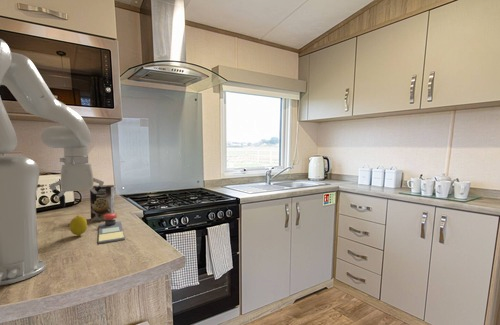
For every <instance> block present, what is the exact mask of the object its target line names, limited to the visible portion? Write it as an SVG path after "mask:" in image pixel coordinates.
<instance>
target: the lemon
mask: <svg viewBox="0 0 500 325" xmlns="http://www.w3.org/2000/svg"><path fill="white" fill-rule="evenodd" d="M69 229H70V232H71V233H72V234H74V235H77V237H80V236H81V235H82V234H84V233H85V232H86V231H87V229H88V221H87V219H86V218H85V217H84V216H82V215H77V216H75V217H73V218H72V219H71V220H70V224H69Z"/></svg>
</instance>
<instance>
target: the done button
mask: <svg viewBox="0 0 500 325" xmlns="http://www.w3.org/2000/svg"><path fill="white" fill-rule="evenodd" d="M117 216H118V215H117V213H116V212H115V213H110V214H105V215H104V219H105V220H104V221H106V220H109V219H115V220H116V218H117Z"/></svg>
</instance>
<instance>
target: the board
mask: <svg viewBox="0 0 500 325" xmlns="http://www.w3.org/2000/svg"><path fill="white" fill-rule="evenodd" d="M125 240H126V239H125V233H124V229H123V226H122V221H121V220H120V221H119V220H118V221H116V218H115V219H110V220H104V223H99V224H98V241H97V244H98V245H101V244H107V243H108V244H109V243H112V242H113V243H115V242H120V241H125Z"/></svg>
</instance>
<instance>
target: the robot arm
mask: <svg viewBox="0 0 500 325" xmlns="http://www.w3.org/2000/svg"><path fill="white" fill-rule="evenodd" d="M0 86H5V87H7V89H8V90H9V91H10V93H11V94H12V95H13V97H14V99H16V101H17V102H18V104H19V105H20V106H21V107H22V108H23V110H24V111H25V112H26V113H29V114H31V115H34V116H36V117H38V118H42V119H45V120H49V121H52V122H55V123H57V124H61V126H56V125H55V126H48V127H45V128H43V130H42V132H40V140H41V142H42V143H43V144H44V145H45V146H47V147H49V148H52V149H63V157H59V162H60V163H61V162H62V163H64V164H62V165H61V170H60V180H57V181H55V182H54V183H51V184H49V185H48V186H49V188H50V190H51V192H52V193H53V194H54V195H56V196H58V199H59V205H60V206H61V208H64V207H66V196H65V193H66V192H78V191H79V192H80V191H89V192H90V191H92V204H95V201H97V199H96V193H97V192H98V191H99V190H100V189H101V187H102V186H103V185H104V183H105V182H104V181H102V180H101V179H98V178H94V175H93V168H92V164H91V163H89V152H88V151H89V150H88V149H89V148H88V147H89V145H90V144H91V143H92V134H91V132H90V129H89V127H88V125H87V123H86V121H85V120H84V118H83V117H82V115H80V114H79V113H78V112H77V111H75V110H74V109H73V108H71V107H70V106H68V104H67V105H66V104H65V103H64V102H62V101H60V100H58V99H56V97H55V96H54V94H53V93H52V91H51V90H50V88H49V87H48V85H47V83H46V82H45V80H44V78H43V77H42V74H40V72H39V69H37V67H36V65H35V64H34V62H33V61H32V60H31V59H30V58H29V57H28V56H27V55H24V54H21V53H17V52H12V51H11V47H9V45H8V43H6V41H5V40H3V39H2V38H0ZM17 146H18V137H17V134H16V130H15V129H14V125H13V124H12V121H11V120H10V117H9V115H8V112H7V109H6V107H5V105H4V103H3V101H2V98H1V96H0V286H5V285H10V284H14V283H17V282H20V281H21V282H22V281H25V280H27V279H30V278H33V277H35V276H37V275H39V274H40V273H42V272H43V271H44V270H45V269H46V267H47V264H46V261H44V260H42V259H39V244H38V224H37V223H38V222H37V218H38V217H37V189H38V184H39V178H40V168H39V167H40V166H39V164H38V163H37V162H36V161H35V160H33V159H31V158H29V157H27V156H21V155H10V154H9V155H5V154H8V153H10V152H12V151H14V150H16V147H17ZM94 183H96V184H98V185H97V186H98V187H97V188H96V189H95V188H94V187H93V186H94ZM57 186H60V190H61V191H60V190H58V189H57V188H56V187H57Z"/></svg>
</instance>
